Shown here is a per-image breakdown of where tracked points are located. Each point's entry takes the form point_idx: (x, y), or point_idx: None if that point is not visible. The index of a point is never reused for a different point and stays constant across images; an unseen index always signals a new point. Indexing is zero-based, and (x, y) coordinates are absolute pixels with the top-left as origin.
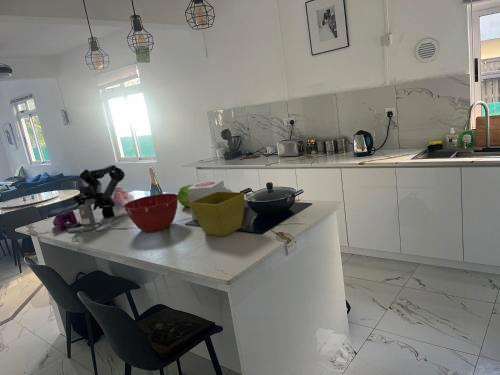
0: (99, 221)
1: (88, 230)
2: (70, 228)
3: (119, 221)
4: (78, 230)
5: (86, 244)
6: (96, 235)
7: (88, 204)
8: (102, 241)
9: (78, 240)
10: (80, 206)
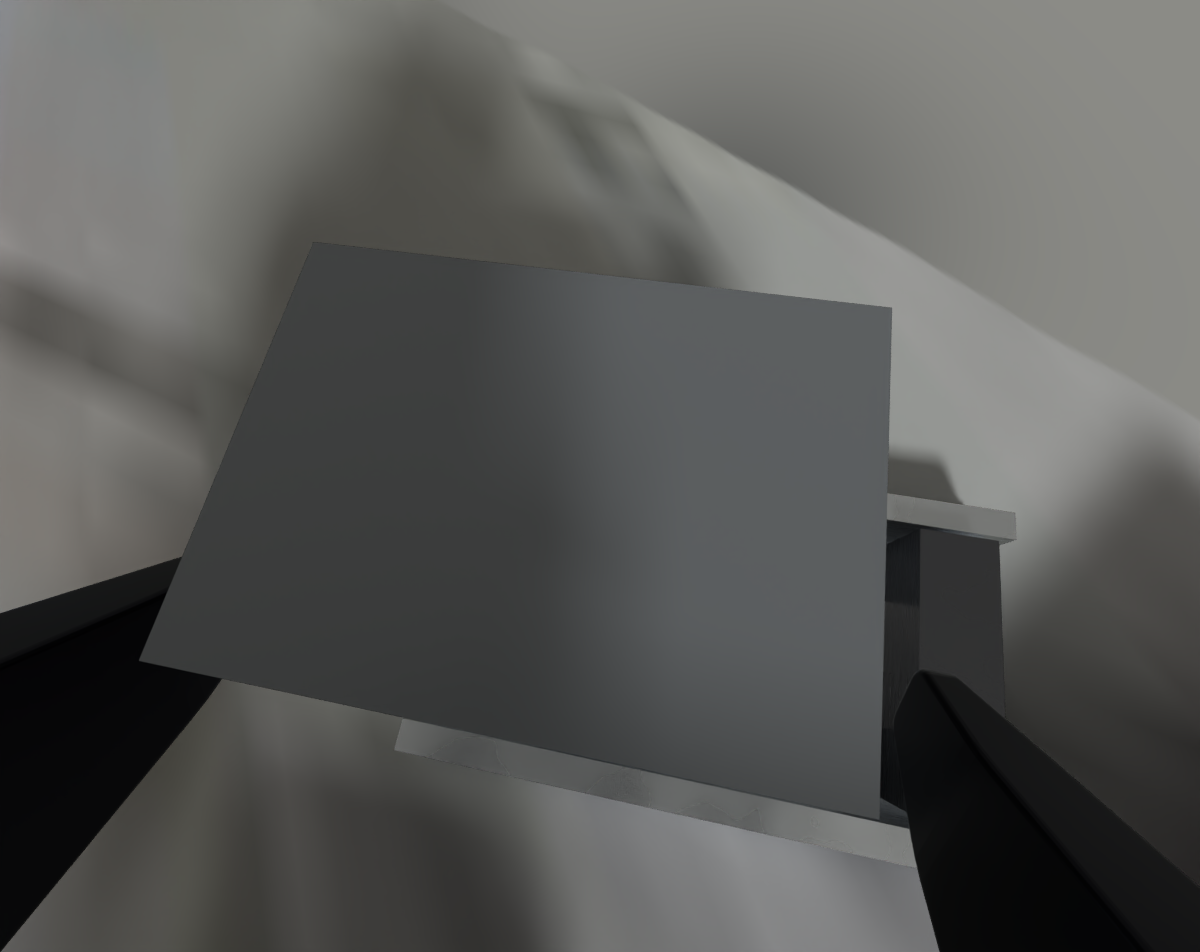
0: (434, 750)
1: None
2: (961, 524)
3: None
4: None
5: (411, 3)
6: (375, 212)
7: (279, 573)
8: (257, 25)
9: (565, 129)
10: (739, 325)
